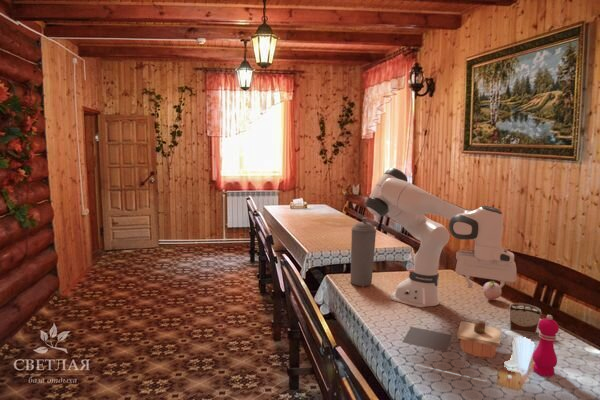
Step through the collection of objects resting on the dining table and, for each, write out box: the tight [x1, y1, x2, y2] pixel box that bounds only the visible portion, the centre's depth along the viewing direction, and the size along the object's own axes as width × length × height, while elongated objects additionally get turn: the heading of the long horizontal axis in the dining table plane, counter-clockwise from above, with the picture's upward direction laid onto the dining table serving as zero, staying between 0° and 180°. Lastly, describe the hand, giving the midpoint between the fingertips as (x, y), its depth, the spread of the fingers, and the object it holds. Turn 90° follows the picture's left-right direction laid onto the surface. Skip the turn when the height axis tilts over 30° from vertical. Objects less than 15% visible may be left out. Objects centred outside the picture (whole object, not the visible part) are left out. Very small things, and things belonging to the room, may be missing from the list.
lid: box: [456, 319, 502, 348], centre depth 166 cm, size 14×14×5 cm
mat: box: [402, 326, 453, 353], centre depth 175 cm, size 16×16×1 cm
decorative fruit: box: [482, 279, 503, 301], centre depth 220 cm, size 9×8×10 cm
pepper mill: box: [532, 314, 560, 377], centre depth 152 cm, size 7×7×20 cm
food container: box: [507, 302, 543, 335], centre depth 187 cm, size 12×6×10 cm, turn 71°
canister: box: [350, 217, 377, 287], centre depth 237 cm, size 13×13×35 cm
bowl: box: [459, 339, 497, 359], centre depth 167 cm, size 12×12×6 cm
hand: (483, 289), depth 164 cm, fingers open, 8 cm apart
